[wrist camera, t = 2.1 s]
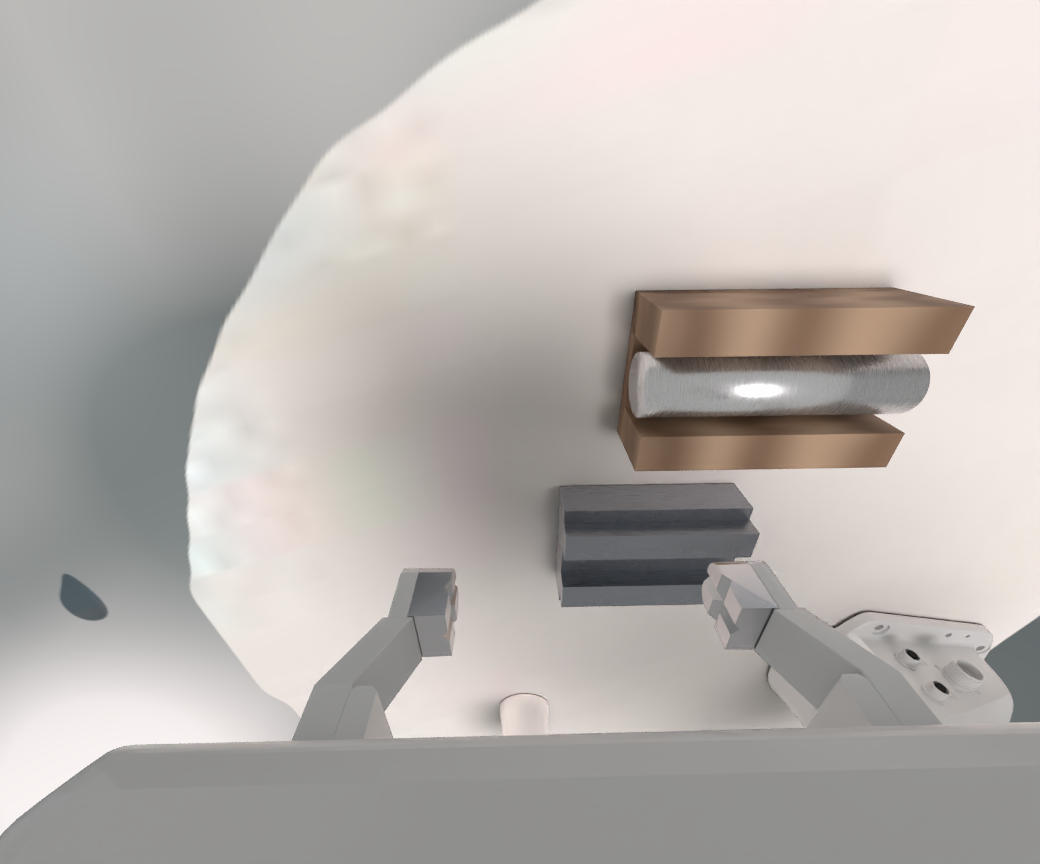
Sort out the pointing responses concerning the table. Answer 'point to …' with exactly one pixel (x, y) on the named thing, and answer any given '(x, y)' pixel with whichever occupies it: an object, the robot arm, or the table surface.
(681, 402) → the axle
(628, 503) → the v block
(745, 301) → the wooden channel cradle
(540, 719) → the beer glass
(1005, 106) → the table surface
